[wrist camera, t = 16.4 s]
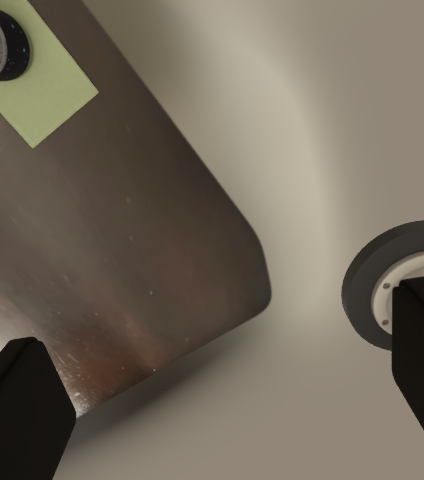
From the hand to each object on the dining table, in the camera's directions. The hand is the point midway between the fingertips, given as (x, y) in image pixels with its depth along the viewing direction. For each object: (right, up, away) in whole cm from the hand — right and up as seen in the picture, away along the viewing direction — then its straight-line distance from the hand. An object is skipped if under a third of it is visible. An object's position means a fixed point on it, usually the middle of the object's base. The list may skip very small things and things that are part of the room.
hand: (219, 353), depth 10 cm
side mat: (-19, +21, +23) cm, 36 cm away
